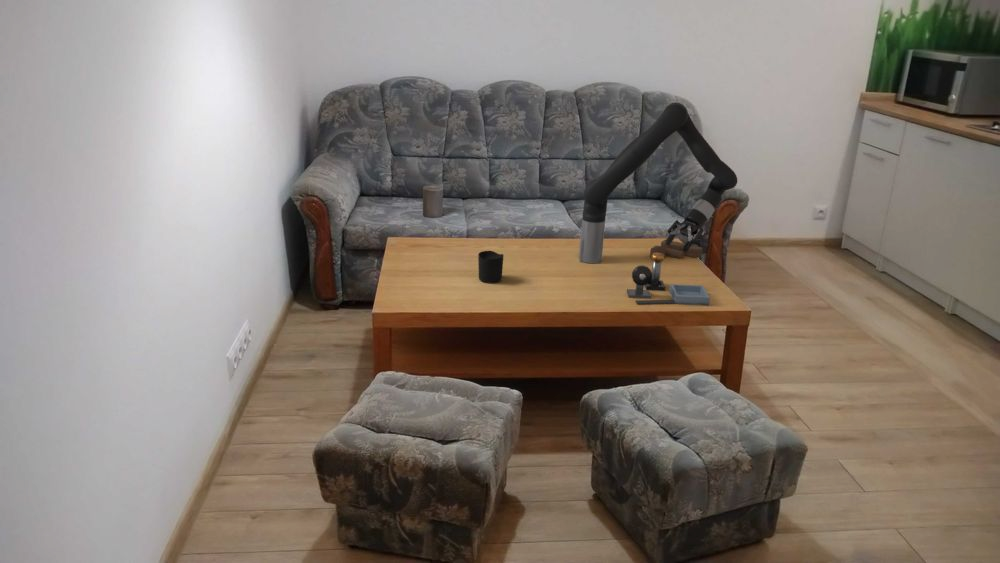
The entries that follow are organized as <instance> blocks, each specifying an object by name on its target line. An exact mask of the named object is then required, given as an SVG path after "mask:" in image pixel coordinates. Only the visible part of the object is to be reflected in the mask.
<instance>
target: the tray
mask: <svg viewBox="0 0 1000 563" xmlns="http://www.w3.org/2000/svg"><path fill="white" fill-rule="evenodd" d="M668 292H669V294H670V295H671V298H672V300H674V301H675V304H674V305H688V306H689V305H693V306H710V300H711V299H710V298H711V297H710V295H709V293H708V291H707V290H706V289H705V287H704V285H699V284H696V285H695V284H681V283H680V284H677V283H670V284H669V291H668Z"/></svg>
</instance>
